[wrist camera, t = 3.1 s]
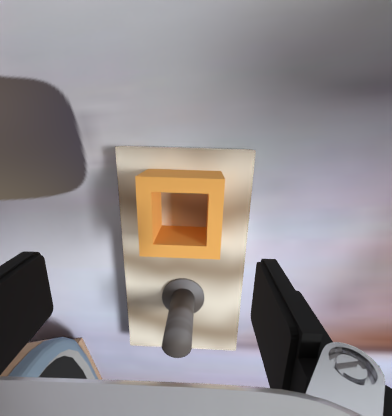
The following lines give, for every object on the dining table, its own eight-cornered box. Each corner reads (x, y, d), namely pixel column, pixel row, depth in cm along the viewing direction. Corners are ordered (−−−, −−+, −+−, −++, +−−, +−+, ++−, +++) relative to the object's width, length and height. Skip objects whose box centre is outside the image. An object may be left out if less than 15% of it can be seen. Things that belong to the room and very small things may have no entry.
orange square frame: (148, 168, 20) (135, 176, 16) (221, 171, 20) (225, 179, 16) (150, 235, 22) (139, 256, 18) (217, 238, 22) (220, 259, 18)
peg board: (123, 145, 22) (78, 151, 14) (251, 149, 21) (277, 156, 14) (135, 331, 28) (109, 403, 21) (233, 335, 28) (244, 411, 20)
